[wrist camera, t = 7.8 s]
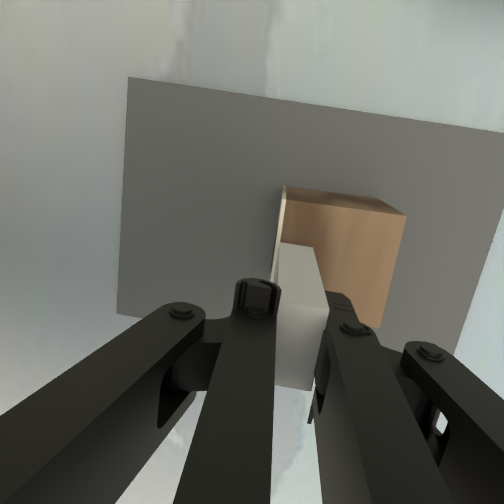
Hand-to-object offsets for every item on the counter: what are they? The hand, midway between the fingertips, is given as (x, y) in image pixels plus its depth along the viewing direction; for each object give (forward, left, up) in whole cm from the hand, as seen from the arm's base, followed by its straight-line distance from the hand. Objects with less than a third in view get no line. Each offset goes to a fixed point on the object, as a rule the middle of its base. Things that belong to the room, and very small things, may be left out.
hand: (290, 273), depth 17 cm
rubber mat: (+1, 0, -9) cm, 9 cm away
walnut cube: (-1, 0, -5) cm, 5 cm away
